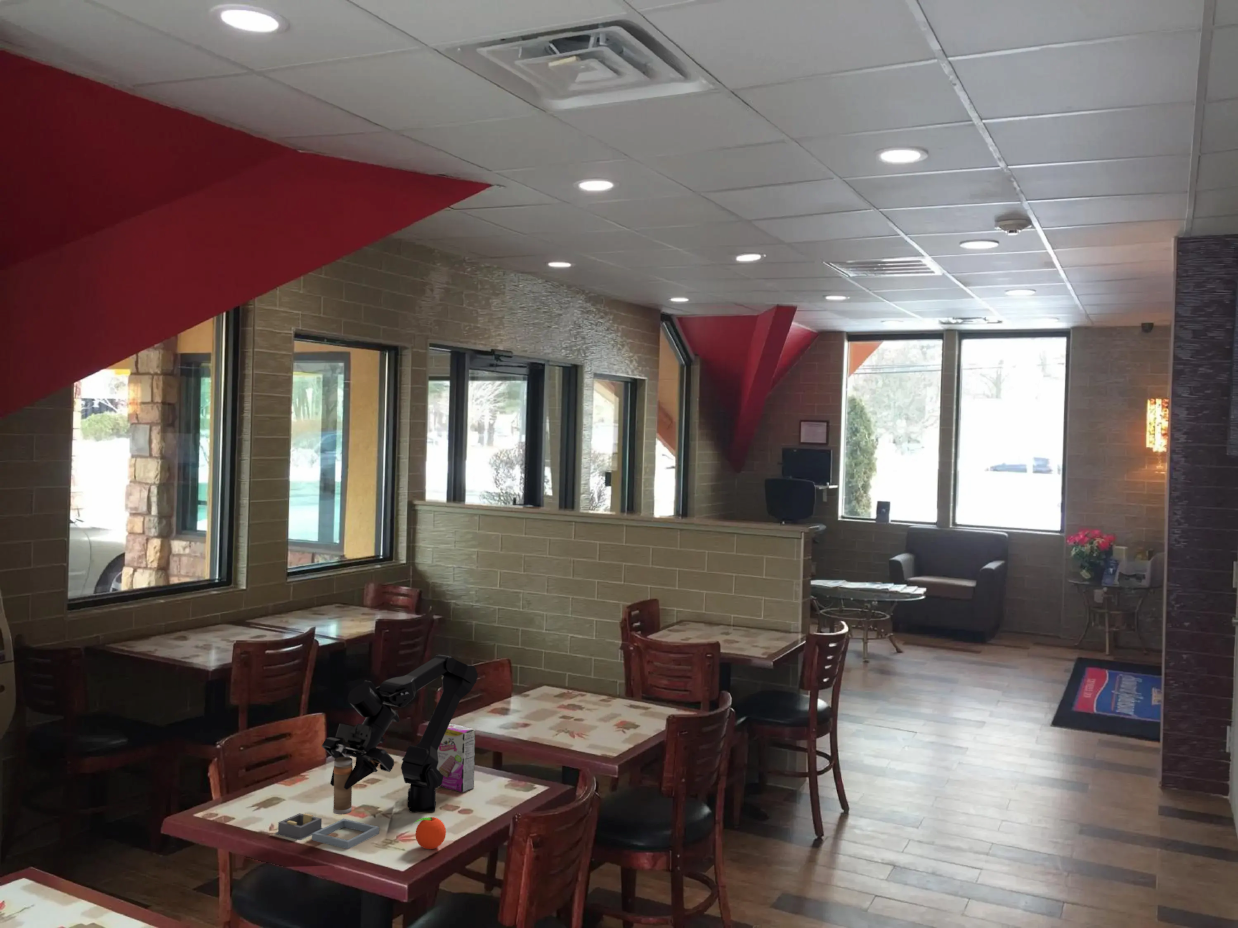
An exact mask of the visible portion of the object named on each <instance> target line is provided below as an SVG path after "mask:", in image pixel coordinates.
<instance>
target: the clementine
mask: <svg viewBox="0 0 1238 928" xmlns="http://www.w3.org/2000/svg"><path fill="white" fill-rule="evenodd" d="M417 822H419V823H418V824H417V826H416V828H415V834H414V835H415V839H416V842H417V843H418V845H419V846H420V847H422V848H423V849H424V850H434V849H437V848H438V847H440V846H441V845H442V844H443V842H444V841H445V839H446V835H447V831H446V826H445V824H444V822H443V821H442V820H441V819H439V818H437V817H435V816H429V817H427V816H426V817H422V818H420V819H417V820H415V823H417Z"/></svg>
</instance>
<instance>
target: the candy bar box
mask: <svg viewBox="0 0 1238 928" xmlns="http://www.w3.org/2000/svg"><path fill="white" fill-rule="evenodd" d="M475 749H476V729H475V728H471V727H467V726H464V725H463V726H462V725H460V724H455V723H452V722H450V724H449V726H448V728H447V730H446V732H445V735H444V737H443V739H442V741H441V743H440V746H439V748H438V751H437V752H438V765H437V769H438V771H439V772H440V773H441V774H442V775H443V781H442V784H441V785H439V787H441V788H445V789H448V790H453V791H455V792H459V793H467V792H468V791H470V790H472V789H474V787H475V758H476V757H475V756H476V755H475V753H476V752H475V751H476V750H475Z"/></svg>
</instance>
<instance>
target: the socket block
mask: <svg viewBox="0 0 1238 928" xmlns="http://www.w3.org/2000/svg"><path fill="white" fill-rule="evenodd" d="M322 822H323V821H322V818H321V817H316V816H314V815H313V814H308V813H296V814H294V815H292V816H290V817H287V818H285V819H283V820H280V821H279V822H277V823H278V824H277V825H278V827H277V829H278V830H277V832H275V833H274V835H279V836H282V837H287V838H290V839H293V840H294V839H295V840H299V841H302V840H304V839H307V838H308V837H312V833H314V832H316V831H318V830H320V829H322V828H323V827H322Z"/></svg>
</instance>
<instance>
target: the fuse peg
mask: <svg viewBox="0 0 1238 928" xmlns="http://www.w3.org/2000/svg"><path fill="white" fill-rule="evenodd" d="M352 764H353V757H351V756H350V757H339V758H336V759H335V758H333V769H334V786H333V806H332V807H333V809H332V811H333V812H332V813H333V814H335V815H341V816H342V815H347V814H350V813H351V812H352V811H353V810H352V809H353V805H352V803H353V801H352V799H353V798H352V796H353V795H352V794H353V786H352V787H350V788H349V789H348V790H346V789H345V788H344V785H345V783H346V781H347V779H348V777H349V776H350V774H351V772H352V770H353V768H354V767H353V766H354V765H352Z"/></svg>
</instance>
